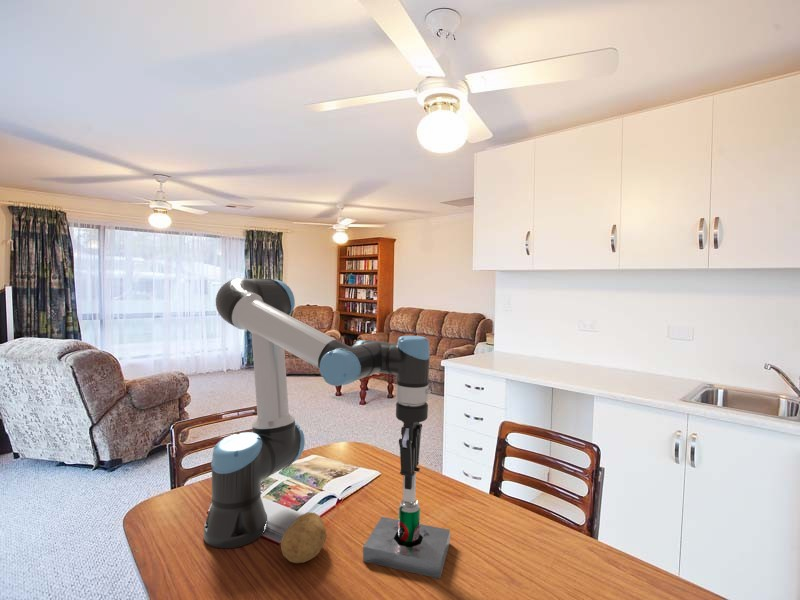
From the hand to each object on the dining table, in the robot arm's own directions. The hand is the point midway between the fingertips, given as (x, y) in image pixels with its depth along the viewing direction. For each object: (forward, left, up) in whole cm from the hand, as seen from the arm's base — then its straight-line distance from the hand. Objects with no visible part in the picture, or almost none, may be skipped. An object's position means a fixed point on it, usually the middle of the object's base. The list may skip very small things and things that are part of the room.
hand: (409, 499), depth 99 cm
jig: (0, 0, -13) cm, 13 cm away
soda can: (0, 0, -13) cm, 13 cm away
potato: (-23, -9, -13) cm, 28 cm away
